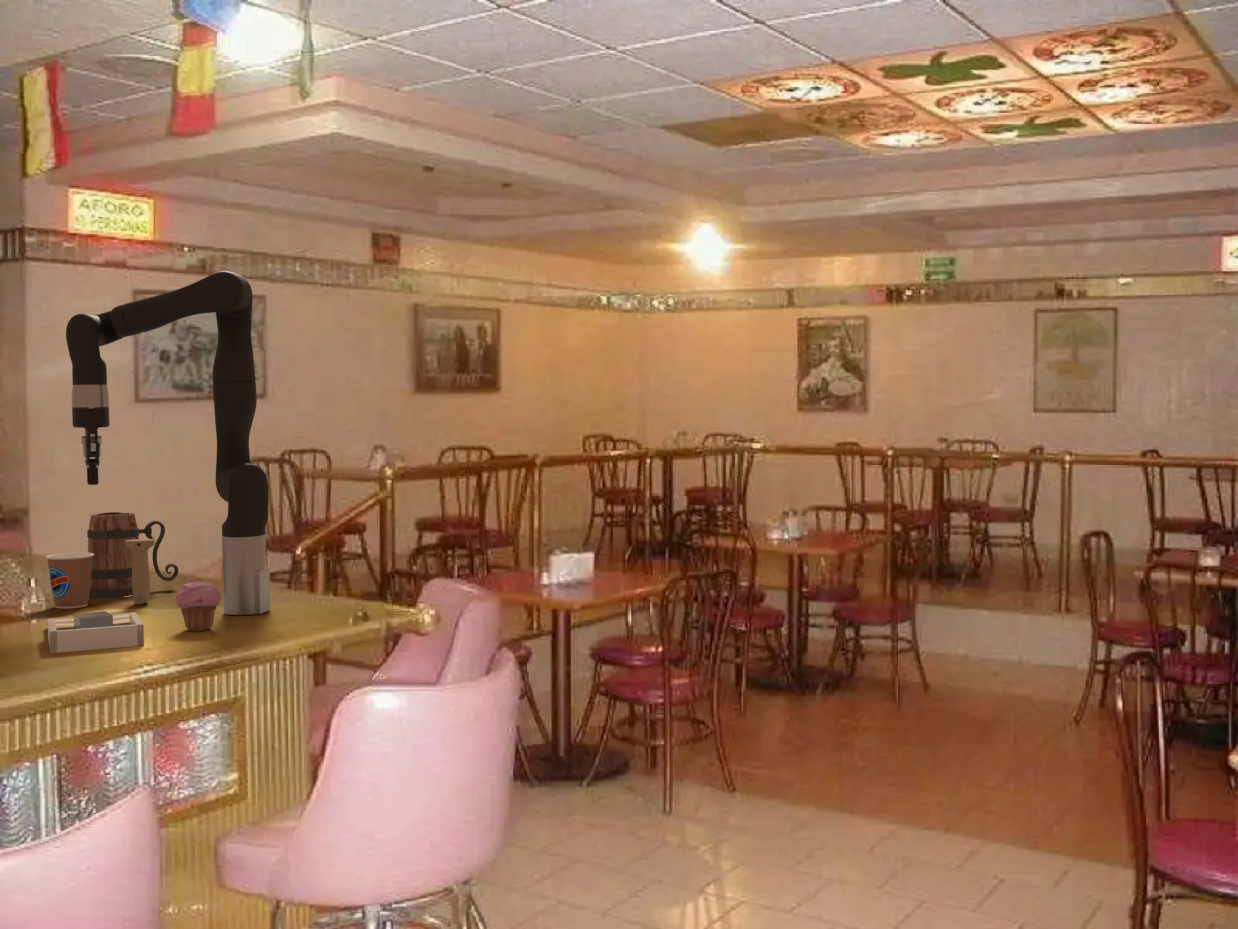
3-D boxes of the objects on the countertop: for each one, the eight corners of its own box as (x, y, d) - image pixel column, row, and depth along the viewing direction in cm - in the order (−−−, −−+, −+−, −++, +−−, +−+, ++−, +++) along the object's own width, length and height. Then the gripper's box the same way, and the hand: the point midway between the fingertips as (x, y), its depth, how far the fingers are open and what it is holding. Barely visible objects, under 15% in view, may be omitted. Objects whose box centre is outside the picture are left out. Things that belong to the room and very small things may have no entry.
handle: (155, 604, 296) (153, 540, 296) (125, 606, 295) (123, 541, 294) (157, 601, 301) (155, 538, 300) (128, 603, 299) (126, 539, 299)
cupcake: (173, 628, 263) (171, 580, 262) (216, 624, 267) (215, 577, 267) (181, 635, 255) (180, 585, 255) (225, 631, 259) (224, 582, 259)
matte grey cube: (74, 639, 253) (73, 614, 253) (106, 635, 256) (105, 611, 256) (80, 644, 247) (80, 618, 247) (113, 640, 250) (112, 615, 250)
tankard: (81, 601, 304) (78, 517, 303) (75, 592, 319) (72, 512, 318) (183, 593, 315) (181, 512, 314) (173, 585, 330) (171, 508, 329)
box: (48, 639, 252) (47, 618, 252) (136, 631, 259) (135, 612, 259) (50, 653, 237) (49, 632, 237) (144, 645, 244) (143, 624, 244)
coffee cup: (37, 607, 294) (36, 556, 293) (77, 601, 302) (75, 551, 302) (65, 611, 288) (63, 558, 288) (105, 605, 297) (103, 553, 296)
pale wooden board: (47, 628, 265) (47, 618, 265) (129, 622, 272) (129, 612, 272) (49, 638, 252) (48, 628, 252) (135, 632, 259) (134, 622, 259)
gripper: (70, 406, 283) (73, 483, 284) (73, 405, 272) (75, 486, 272) (106, 405, 287) (109, 482, 287) (111, 405, 275) (113, 485, 275)
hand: (92, 484), depth 280 cm, fingers closed
